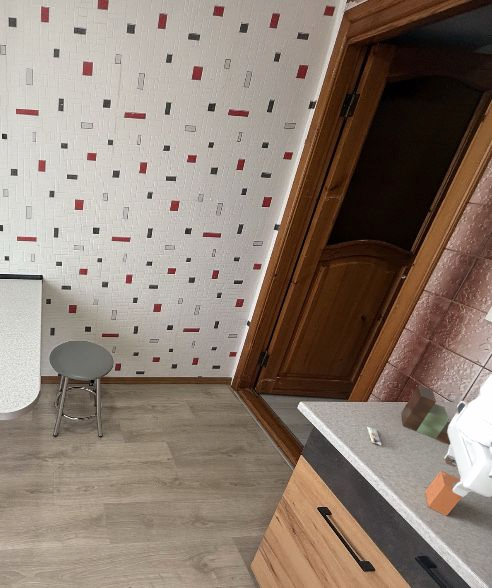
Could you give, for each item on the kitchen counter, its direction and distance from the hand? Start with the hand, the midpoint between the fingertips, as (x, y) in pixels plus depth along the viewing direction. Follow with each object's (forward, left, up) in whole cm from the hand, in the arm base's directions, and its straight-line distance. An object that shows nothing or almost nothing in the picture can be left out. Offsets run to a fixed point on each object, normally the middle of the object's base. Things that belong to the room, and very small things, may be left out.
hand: (453, 477), depth 71 cm
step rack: (-1, -31, -8) cm, 32 cm away
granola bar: (+11, -15, -8) cm, 20 cm away
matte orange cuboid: (0, 0, -8) cm, 8 cm away
